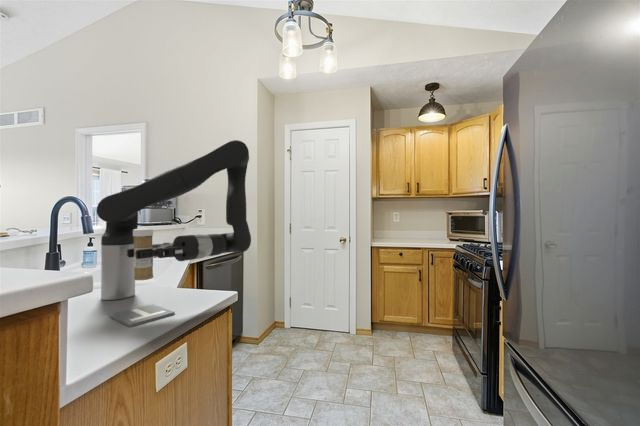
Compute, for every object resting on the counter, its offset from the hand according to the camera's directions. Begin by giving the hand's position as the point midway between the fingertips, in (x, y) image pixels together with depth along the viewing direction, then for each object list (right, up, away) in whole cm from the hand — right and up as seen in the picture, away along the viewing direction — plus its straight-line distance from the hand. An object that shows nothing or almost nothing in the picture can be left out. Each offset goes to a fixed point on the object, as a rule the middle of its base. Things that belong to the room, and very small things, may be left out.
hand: (132, 254), depth 75 cm
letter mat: (+1, -17, +2) cm, 17 cm away
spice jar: (+2, -7, +2) cm, 8 cm away
